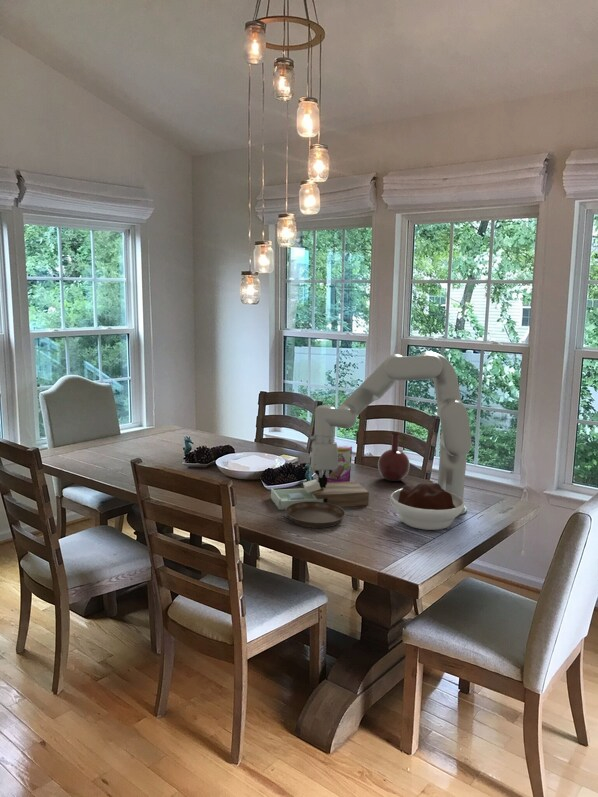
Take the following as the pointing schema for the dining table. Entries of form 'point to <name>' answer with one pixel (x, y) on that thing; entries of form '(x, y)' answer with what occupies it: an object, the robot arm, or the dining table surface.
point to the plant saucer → (315, 514)
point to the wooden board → (343, 494)
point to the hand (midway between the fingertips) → (322, 486)
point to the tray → (282, 500)
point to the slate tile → (295, 496)
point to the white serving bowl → (426, 506)
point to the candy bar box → (342, 465)
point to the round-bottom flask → (394, 462)
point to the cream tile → (311, 486)
